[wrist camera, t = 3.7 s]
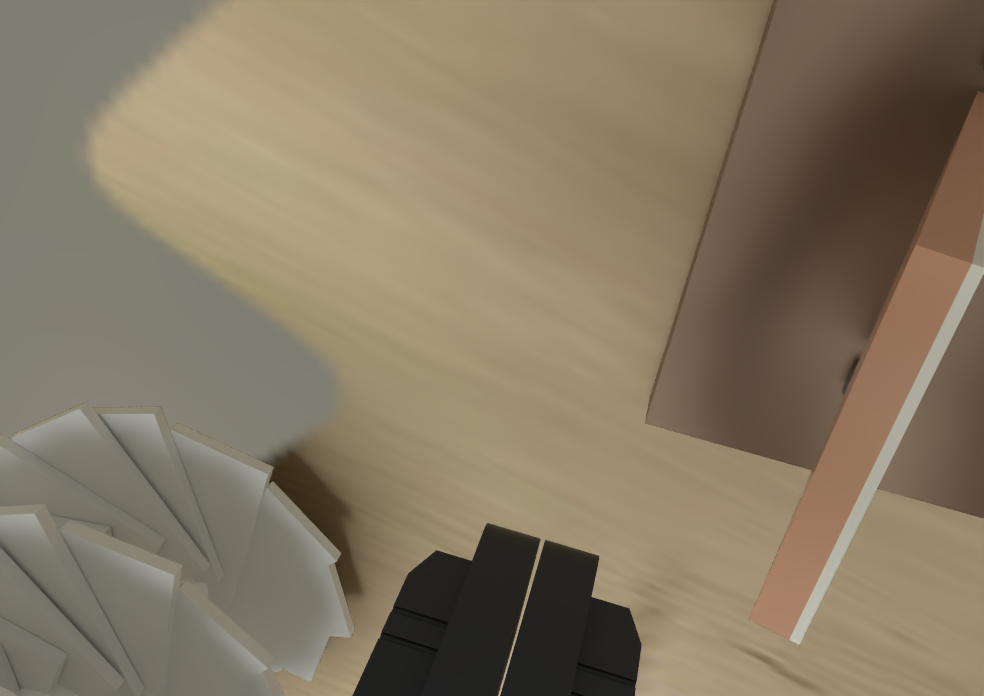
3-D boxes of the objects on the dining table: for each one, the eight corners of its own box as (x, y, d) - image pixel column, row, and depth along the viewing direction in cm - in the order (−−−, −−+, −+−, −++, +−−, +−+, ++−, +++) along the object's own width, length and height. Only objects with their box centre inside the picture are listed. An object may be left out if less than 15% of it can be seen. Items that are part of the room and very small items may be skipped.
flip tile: (978, 90, 24) (1018, 102, 24) (862, 352, 28) (896, 365, 28) (915, 244, 14) (986, 268, 13) (748, 619, 18) (799, 644, 18)
